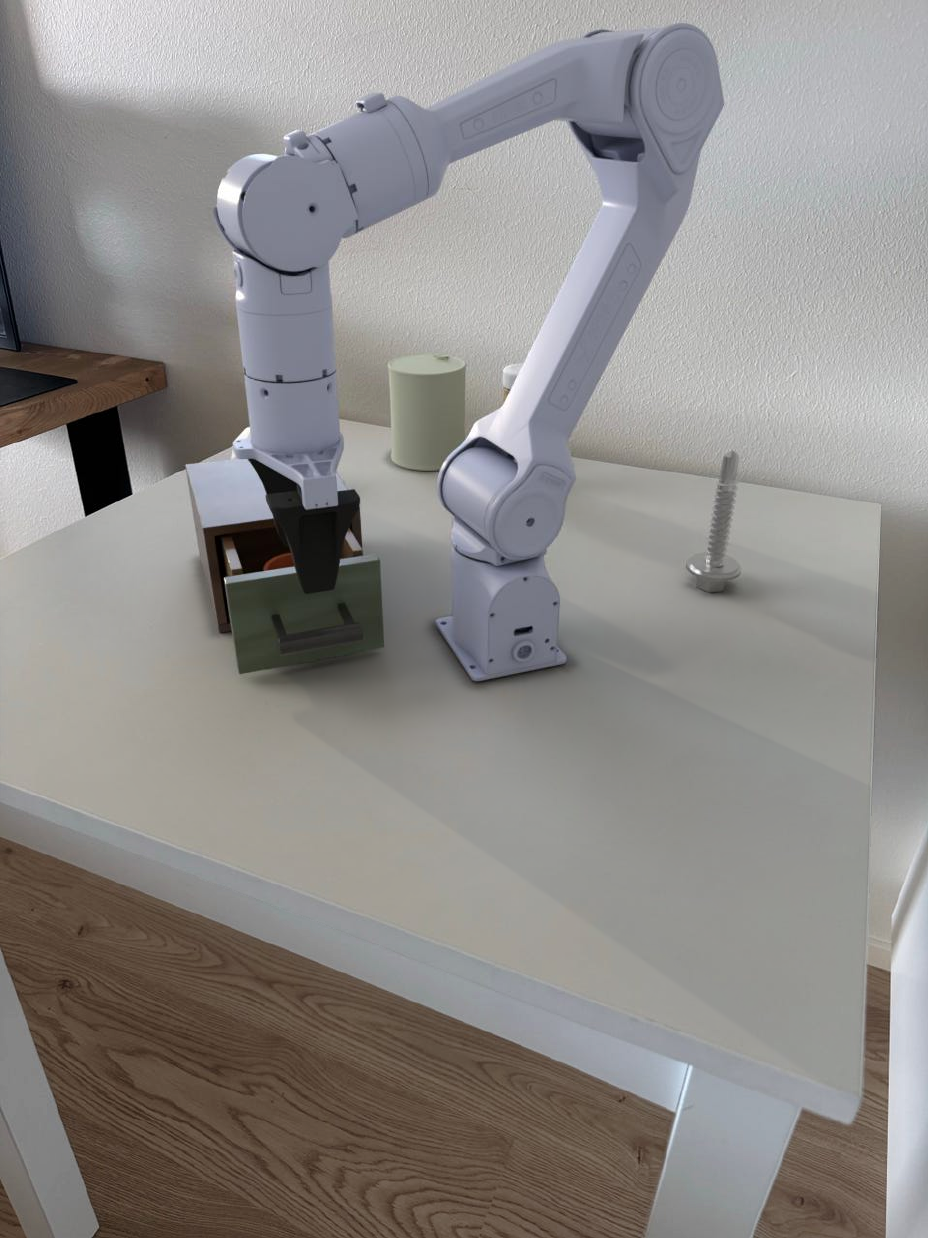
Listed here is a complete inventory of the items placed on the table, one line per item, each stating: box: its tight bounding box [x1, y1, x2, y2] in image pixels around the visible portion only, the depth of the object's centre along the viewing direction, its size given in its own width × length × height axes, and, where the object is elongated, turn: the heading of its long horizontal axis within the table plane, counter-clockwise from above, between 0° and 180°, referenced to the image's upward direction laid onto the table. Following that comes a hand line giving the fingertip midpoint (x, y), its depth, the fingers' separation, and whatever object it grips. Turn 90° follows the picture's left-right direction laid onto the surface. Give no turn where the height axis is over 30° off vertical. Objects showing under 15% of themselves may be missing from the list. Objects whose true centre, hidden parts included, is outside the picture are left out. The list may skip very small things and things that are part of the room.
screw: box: [685, 450, 742, 593], centre depth 79 cm, size 13×5×5 cm
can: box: [387, 353, 467, 472], centre depth 108 cm, size 9×9×12 cm
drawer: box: [217, 527, 385, 675], centre depth 72 cm, size 18×11×8 cm, turn 20°
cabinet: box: [184, 458, 363, 634], centre depth 81 cm, size 15×13×10 cm
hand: (307, 565), depth 63 cm, fingers open, 7 cm apart
